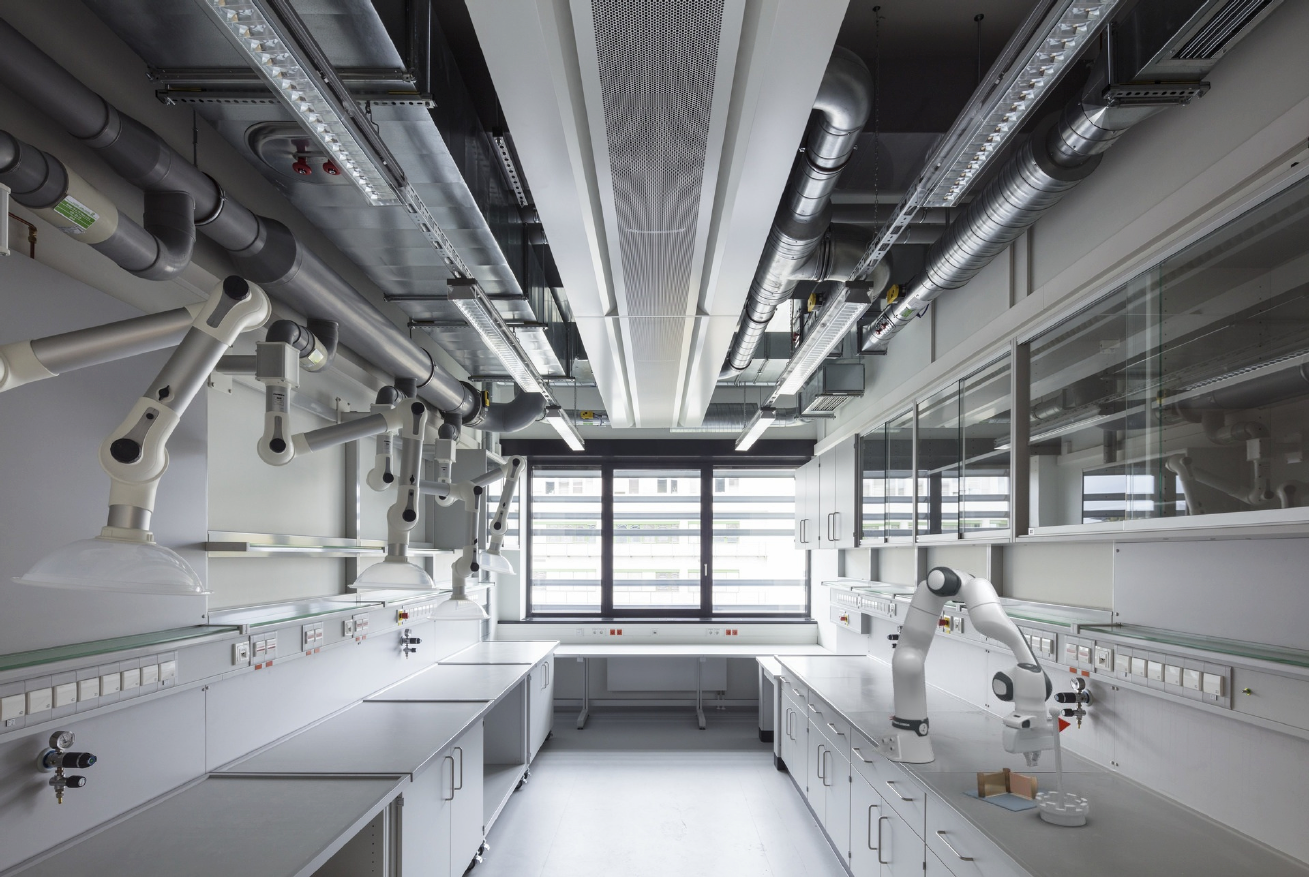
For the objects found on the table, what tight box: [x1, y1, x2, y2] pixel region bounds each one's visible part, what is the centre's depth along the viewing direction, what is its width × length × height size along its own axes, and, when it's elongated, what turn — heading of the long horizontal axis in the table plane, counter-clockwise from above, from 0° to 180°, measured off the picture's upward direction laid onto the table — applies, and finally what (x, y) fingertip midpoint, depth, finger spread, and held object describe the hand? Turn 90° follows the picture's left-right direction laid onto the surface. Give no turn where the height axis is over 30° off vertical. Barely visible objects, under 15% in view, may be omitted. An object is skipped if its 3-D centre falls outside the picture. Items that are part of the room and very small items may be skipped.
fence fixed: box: [976, 767, 1012, 798], centre depth 237 cm, size 2×13×7 cm, turn 116°
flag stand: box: [1035, 705, 1090, 827], centre depth 218 cm, size 13×13×30 cm
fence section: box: [1009, 771, 1039, 800], centre depth 234 cm, size 2×9×6 cm, turn 26°
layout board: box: [962, 788, 1049, 813], centre depth 236 cm, size 19×24×1 cm
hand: (1032, 765), depth 238 cm, fingers closed
